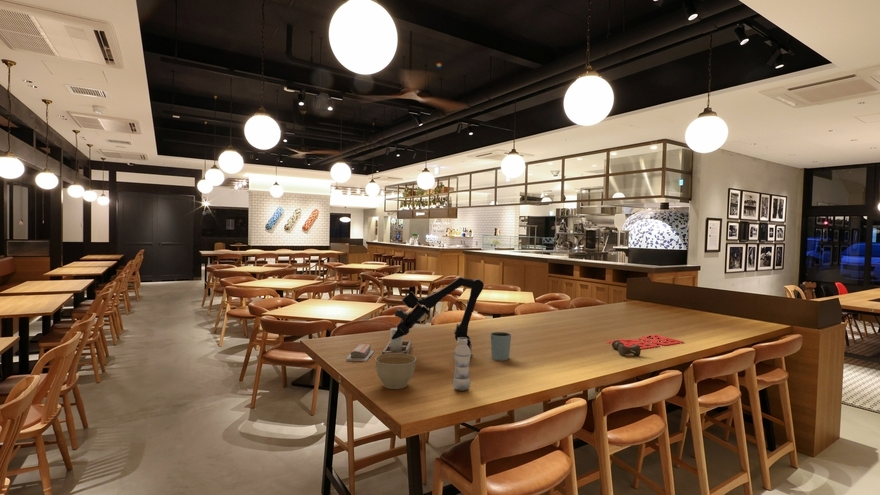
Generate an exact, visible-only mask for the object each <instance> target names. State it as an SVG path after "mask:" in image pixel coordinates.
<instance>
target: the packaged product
mask: <svg viewBox="0 0 880 495" xmlns="http://www.w3.org/2000/svg"><path fill="white" fill-rule="evenodd" d="M371 346H372V345H371V344H368V343H358V344H357V345H356V346H355V347H354V348H353V349H352V351H351V352H350V354H349V355H348V356H347V357H345V360H346V361H347V362H367V361H368V360H369V358H370V357H372V354H373V353H374V352H375V350H372V349H371Z"/></svg>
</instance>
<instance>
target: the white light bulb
mask: <svg viewBox="0 0 880 495" xmlns="http://www.w3.org/2000/svg"><path fill="white" fill-rule="evenodd" d="M389 331H390V332H389V333H390V334H389V335H390V336H389V337H390V339H389V340H390V351H392V352H402V341H403V336H401V337H399V338H396V339H392V337H393V335H394V334H395V332H396V331H397V327H391V328H390V329H389Z"/></svg>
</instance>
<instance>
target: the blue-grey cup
mask: <svg viewBox="0 0 880 495" xmlns="http://www.w3.org/2000/svg"><path fill="white" fill-rule="evenodd" d="M511 340H512V334H511V333H509V332H504V331H495V332H493V331H492V332H490V346H491V348H490V350H491V359H492V360H495V361H503V362H504V361H508V360H509V359H510V352H511V351H510V349H511Z"/></svg>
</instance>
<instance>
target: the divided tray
mask: <svg viewBox="0 0 880 495" xmlns="http://www.w3.org/2000/svg"><path fill="white" fill-rule="evenodd" d="M412 343H413V342H412V340H402V352H392V351H390V339H389V341H388V342H387V343H386V345H385V346H384V349H383V350H382V352H381V355H383V354H390V353H402V354H409V353H410V351H411V349H412V345H413V344H412ZM409 355H410V354H409Z"/></svg>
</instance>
